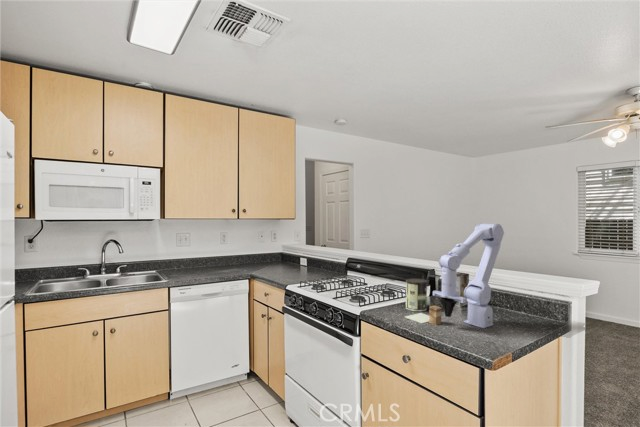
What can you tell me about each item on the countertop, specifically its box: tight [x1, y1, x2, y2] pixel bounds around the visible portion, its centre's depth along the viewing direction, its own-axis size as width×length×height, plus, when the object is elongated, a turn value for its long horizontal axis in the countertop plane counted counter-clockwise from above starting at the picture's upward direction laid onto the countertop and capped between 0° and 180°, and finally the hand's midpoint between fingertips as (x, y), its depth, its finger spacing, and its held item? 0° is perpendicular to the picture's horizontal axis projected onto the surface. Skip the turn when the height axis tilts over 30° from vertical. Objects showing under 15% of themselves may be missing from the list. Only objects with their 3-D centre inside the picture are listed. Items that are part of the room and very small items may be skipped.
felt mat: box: [404, 312, 429, 324], centre depth 155 cm, size 10×11×1 cm
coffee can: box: [405, 277, 428, 313], centre depth 170 cm, size 10×10×14 cm
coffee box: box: [454, 271, 470, 308], centre depth 178 cm, size 9×6×16 cm
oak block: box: [428, 305, 442, 326], centre depth 148 cm, size 4×4×7 cm
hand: (448, 316), depth 143 cm, fingers closed
